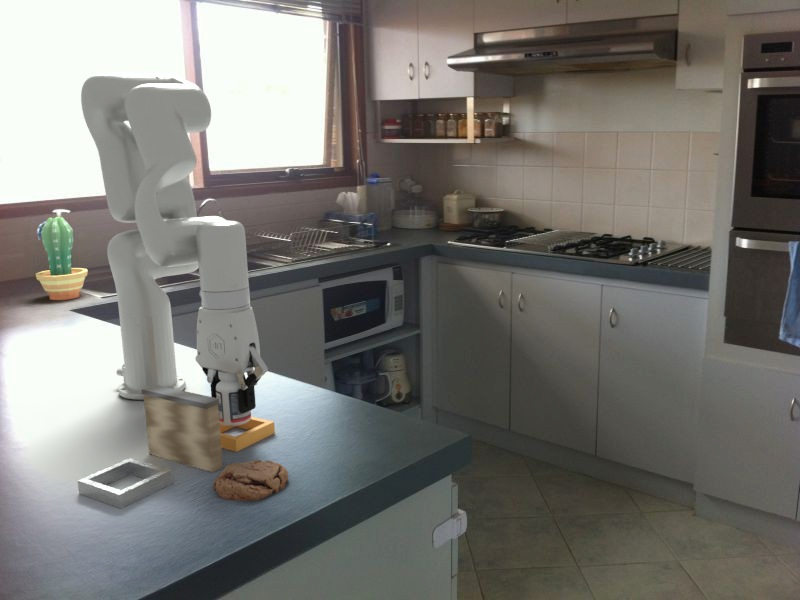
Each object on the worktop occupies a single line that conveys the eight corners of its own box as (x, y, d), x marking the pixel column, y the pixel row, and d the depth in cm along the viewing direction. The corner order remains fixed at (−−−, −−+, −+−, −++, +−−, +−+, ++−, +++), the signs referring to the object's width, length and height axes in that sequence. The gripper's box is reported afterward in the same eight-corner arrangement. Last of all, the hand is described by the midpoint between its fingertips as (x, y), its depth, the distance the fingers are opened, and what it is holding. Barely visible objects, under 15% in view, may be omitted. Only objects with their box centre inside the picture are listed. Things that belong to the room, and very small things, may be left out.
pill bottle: (256, 416, 132) (253, 365, 131) (242, 427, 128) (238, 374, 126) (227, 414, 134) (224, 363, 132) (212, 425, 129) (208, 372, 127)
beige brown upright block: (147, 454, 125) (141, 389, 123) (160, 449, 127) (154, 384, 125) (211, 473, 118) (206, 403, 115) (224, 467, 120) (219, 398, 117)
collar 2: (196, 441, 130) (195, 429, 130) (235, 423, 137) (234, 412, 137) (236, 451, 125) (235, 439, 125) (274, 433, 133) (274, 421, 132)
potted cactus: (81, 290, 261) (72, 213, 256) (97, 296, 249) (89, 217, 244) (31, 297, 251) (21, 218, 246) (46, 304, 240) (36, 221, 234)
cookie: (303, 484, 114) (302, 464, 113) (243, 511, 106) (241, 490, 106) (259, 466, 121) (258, 447, 120) (200, 490, 113) (198, 470, 112)
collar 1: (79, 493, 112) (77, 480, 112) (131, 470, 119) (130, 457, 119) (121, 508, 107) (119, 494, 107) (172, 483, 115) (171, 470, 114)
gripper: (170, 298, 128) (180, 406, 132) (249, 308, 119) (257, 423, 123) (204, 290, 134) (213, 393, 138) (282, 299, 125) (289, 409, 129)
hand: (233, 406), depth 130 cm, fingers closed on pill bottle, 5 cm apart
